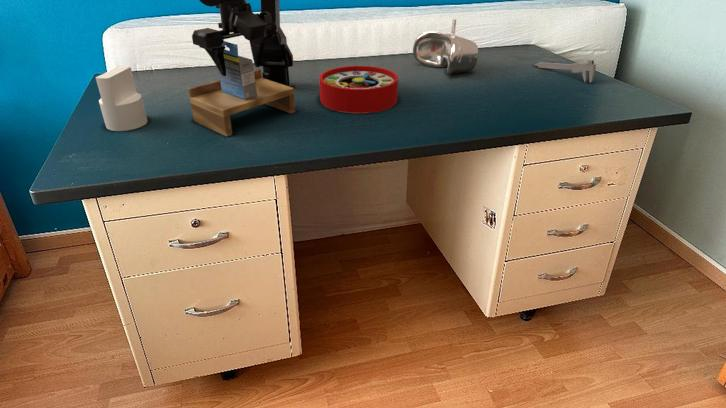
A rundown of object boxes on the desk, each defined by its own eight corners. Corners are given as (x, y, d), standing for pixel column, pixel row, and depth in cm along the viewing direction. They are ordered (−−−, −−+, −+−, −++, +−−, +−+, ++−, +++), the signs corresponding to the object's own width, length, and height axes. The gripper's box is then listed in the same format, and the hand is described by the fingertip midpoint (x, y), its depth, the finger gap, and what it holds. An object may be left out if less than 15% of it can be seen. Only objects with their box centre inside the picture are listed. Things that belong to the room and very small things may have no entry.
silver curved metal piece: (411, 64, 157) (413, 16, 150) (439, 59, 163) (442, 12, 155) (449, 79, 144) (454, 27, 137) (478, 73, 150) (484, 22, 142)
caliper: (593, 83, 142) (598, 61, 139) (590, 84, 142) (596, 61, 138) (536, 65, 157) (540, 45, 153) (534, 66, 156) (537, 45, 153)
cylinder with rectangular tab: (133, 132, 112) (120, 79, 106) (97, 129, 113) (81, 77, 107) (155, 117, 120) (143, 67, 113) (120, 115, 121) (107, 65, 115)
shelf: (261, 99, 130) (258, 68, 126) (295, 111, 123) (293, 79, 119) (193, 121, 117) (187, 88, 113) (226, 136, 110) (221, 101, 106)
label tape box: (258, 96, 115) (252, 41, 108) (243, 100, 112) (236, 44, 106) (234, 88, 120) (227, 34, 113) (220, 92, 117) (212, 38, 111)
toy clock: (304, 82, 123) (341, 62, 139) (305, 105, 126) (341, 82, 142) (379, 94, 116) (409, 71, 132) (378, 118, 119) (408, 93, 135)
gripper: (216, 9, 95) (227, 89, 104) (290, -4, 107) (295, 69, 115) (184, 2, 102) (197, 77, 110) (258, -9, 114) (265, 60, 122)
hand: (241, 71), depth 114 cm, fingers open, 9 cm apart
